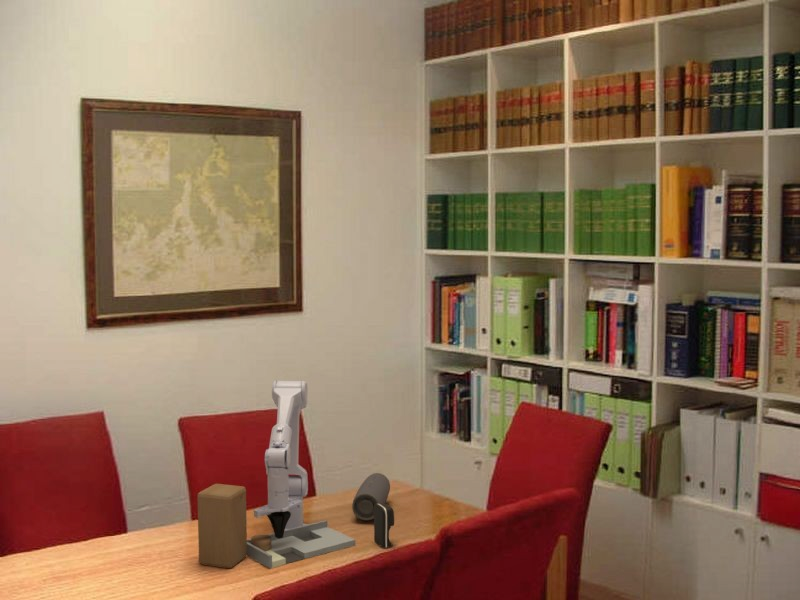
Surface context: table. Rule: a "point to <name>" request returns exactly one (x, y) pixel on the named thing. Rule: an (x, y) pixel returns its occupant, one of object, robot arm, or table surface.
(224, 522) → the wooden block
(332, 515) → the table surface
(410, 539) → the table surface
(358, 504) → the bluetooth speaker
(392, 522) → the battery charger
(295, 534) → the trap board
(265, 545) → the puck
